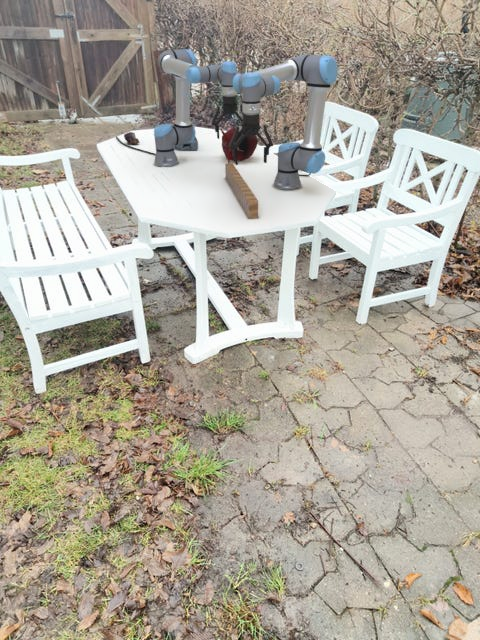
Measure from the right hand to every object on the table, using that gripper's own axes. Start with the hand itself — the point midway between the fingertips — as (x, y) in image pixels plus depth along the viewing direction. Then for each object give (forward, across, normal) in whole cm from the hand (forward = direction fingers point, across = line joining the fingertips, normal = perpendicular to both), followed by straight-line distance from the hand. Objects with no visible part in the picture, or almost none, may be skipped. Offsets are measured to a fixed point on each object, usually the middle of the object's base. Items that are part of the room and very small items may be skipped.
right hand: (250, 163), depth 207 cm
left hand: (0, 0, +52) cm, 52 cm away
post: (+24, 0, +26) cm, 36 cm away
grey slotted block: (+24, -18, +135) cm, 138 cm away
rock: (+24, -57, +158) cm, 169 cm away
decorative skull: (+24, +14, +98) cm, 102 cm away
